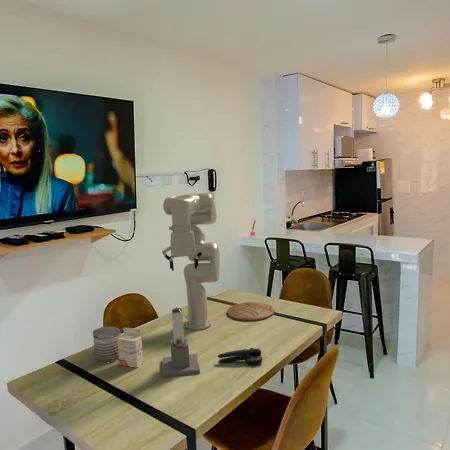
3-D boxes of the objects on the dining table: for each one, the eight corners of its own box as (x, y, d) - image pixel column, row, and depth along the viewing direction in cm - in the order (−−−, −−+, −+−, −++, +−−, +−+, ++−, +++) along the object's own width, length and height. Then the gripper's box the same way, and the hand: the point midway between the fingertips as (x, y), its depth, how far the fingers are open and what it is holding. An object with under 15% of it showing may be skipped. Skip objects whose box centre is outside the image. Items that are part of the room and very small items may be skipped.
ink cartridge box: (119, 366, 168) (116, 331, 166) (125, 360, 173) (122, 326, 171) (137, 368, 165) (134, 333, 163) (143, 362, 170) (141, 328, 168)
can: (107, 350, 184) (105, 324, 182) (128, 354, 179) (126, 327, 177) (89, 361, 174) (86, 334, 172) (110, 366, 169) (107, 337, 167)
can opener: (262, 358, 170) (261, 345, 169) (262, 366, 163) (262, 352, 162) (218, 358, 171) (218, 345, 170) (217, 366, 164) (216, 353, 163)
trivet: (250, 302, 240) (249, 299, 240) (283, 312, 222) (283, 308, 221) (217, 314, 223) (217, 311, 223) (251, 325, 205) (251, 322, 205)
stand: (162, 360, 171) (160, 334, 169) (196, 357, 173) (195, 331, 172) (163, 377, 157) (161, 349, 156) (199, 373, 159) (198, 345, 158)
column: (174, 348, 166) (171, 308, 164) (184, 347, 167) (182, 307, 164) (174, 352, 162) (171, 311, 160) (185, 351, 162) (182, 310, 160)
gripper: (160, 231, 166) (163, 273, 169) (203, 228, 169) (205, 269, 171) (160, 228, 174) (163, 268, 176) (201, 226, 176) (204, 265, 178)
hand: (184, 269), depth 173 cm, fingers open, 9 cm apart
